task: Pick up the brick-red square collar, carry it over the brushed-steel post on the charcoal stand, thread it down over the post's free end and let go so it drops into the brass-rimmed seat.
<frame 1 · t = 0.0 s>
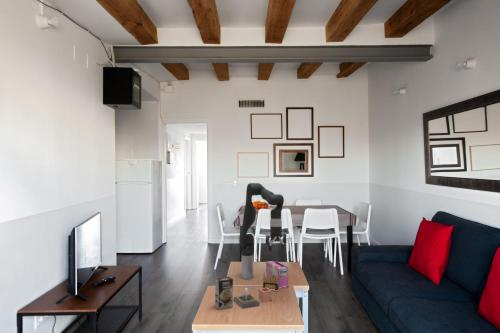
hand: (276, 250, 193), 29 cm above the table, fingers open, 8 cm apart
coffee box: (224, 306, 178), on the table
gum box: (276, 283, 219), on the table
ammunition clip: (270, 290, 204), on the table
collar: (265, 299, 188), on the table
post stand: (246, 302, 183), on the table
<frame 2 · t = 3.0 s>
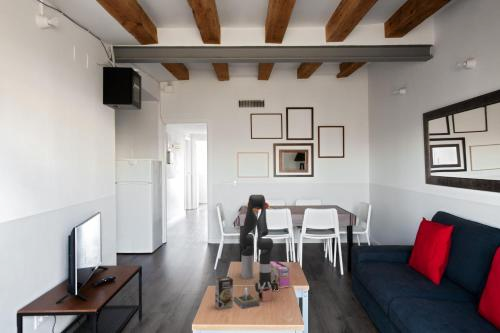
hand: (265, 297, 188), 1 cm above the table, fingers closed on collar, 6 cm apart
collar: (265, 299, 188), on the table, touching gripper
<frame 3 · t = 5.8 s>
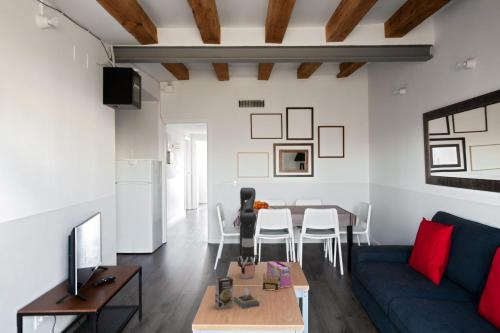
hand: (248, 272, 184), 18 cm above the table, fingers closed on collar, 6 cm apart
collar: (248, 274, 184), point 17 cm above the table, touching gripper
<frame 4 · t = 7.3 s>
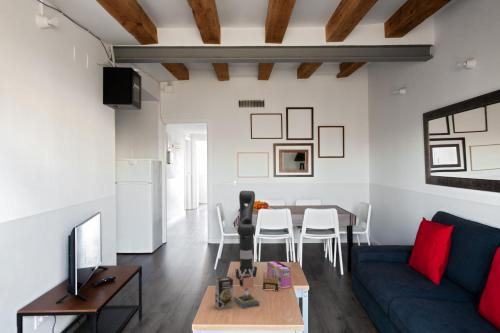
hand: (246, 284, 183), 11 cm above the table, fingers closed on collar, 6 cm apart
collar: (246, 286, 183), point 10 cm above the table, touching gripper
when the fingers open (6 cm above the table, at t = 8.6 s): collar drops 3 cm, resting on post stand.
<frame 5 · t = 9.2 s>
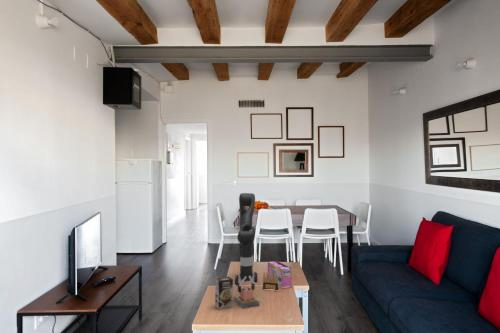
hand: (246, 290, 183), 7 cm above the table, fingers open, 8 cm apart
collar: (246, 299, 183), point 2 cm above the table, touching post stand
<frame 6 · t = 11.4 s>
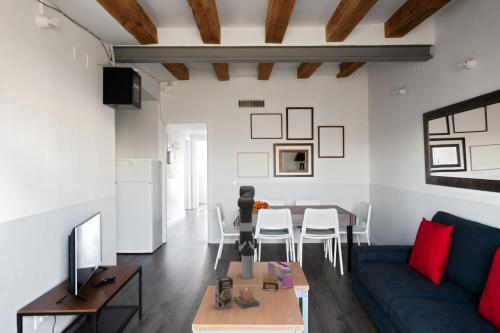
hand: (246, 256, 184), 28 cm above the table, fingers open, 8 cm apart
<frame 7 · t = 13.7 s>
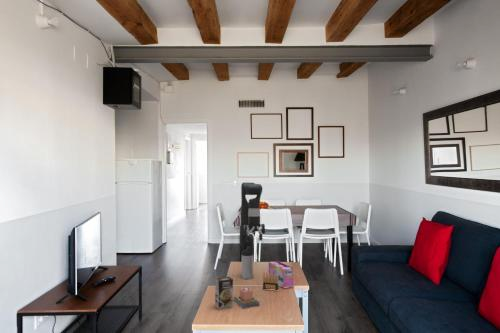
hand: (254, 241, 190), 36 cm above the table, fingers open, 8 cm apart
at the end: collar 0.1 cm from the post stand (horizontally); collar point 2.0 cm above the table; the gripper is holding nothing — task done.
